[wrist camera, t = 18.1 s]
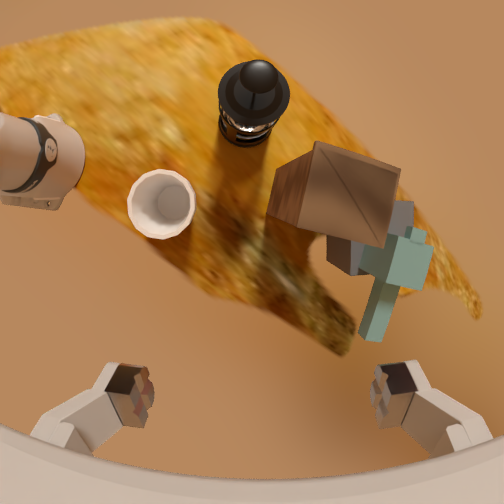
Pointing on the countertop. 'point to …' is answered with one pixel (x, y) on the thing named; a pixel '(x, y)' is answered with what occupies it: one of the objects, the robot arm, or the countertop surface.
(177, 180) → the foam cup
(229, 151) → the countertop surface
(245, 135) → the french press
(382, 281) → the green mallet
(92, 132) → the countertop surface
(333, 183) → the stand
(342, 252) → the riser
